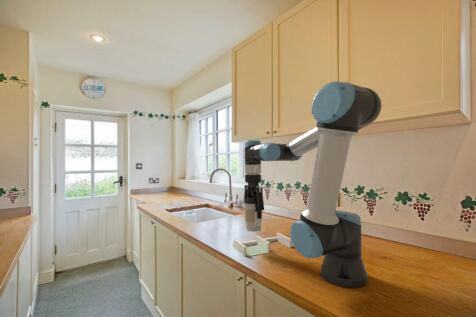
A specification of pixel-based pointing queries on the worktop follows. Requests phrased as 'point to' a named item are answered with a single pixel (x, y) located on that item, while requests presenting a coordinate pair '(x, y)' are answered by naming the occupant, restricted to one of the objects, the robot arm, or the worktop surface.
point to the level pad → (255, 250)
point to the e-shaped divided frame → (262, 243)
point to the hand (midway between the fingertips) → (253, 223)
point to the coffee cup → (250, 215)
